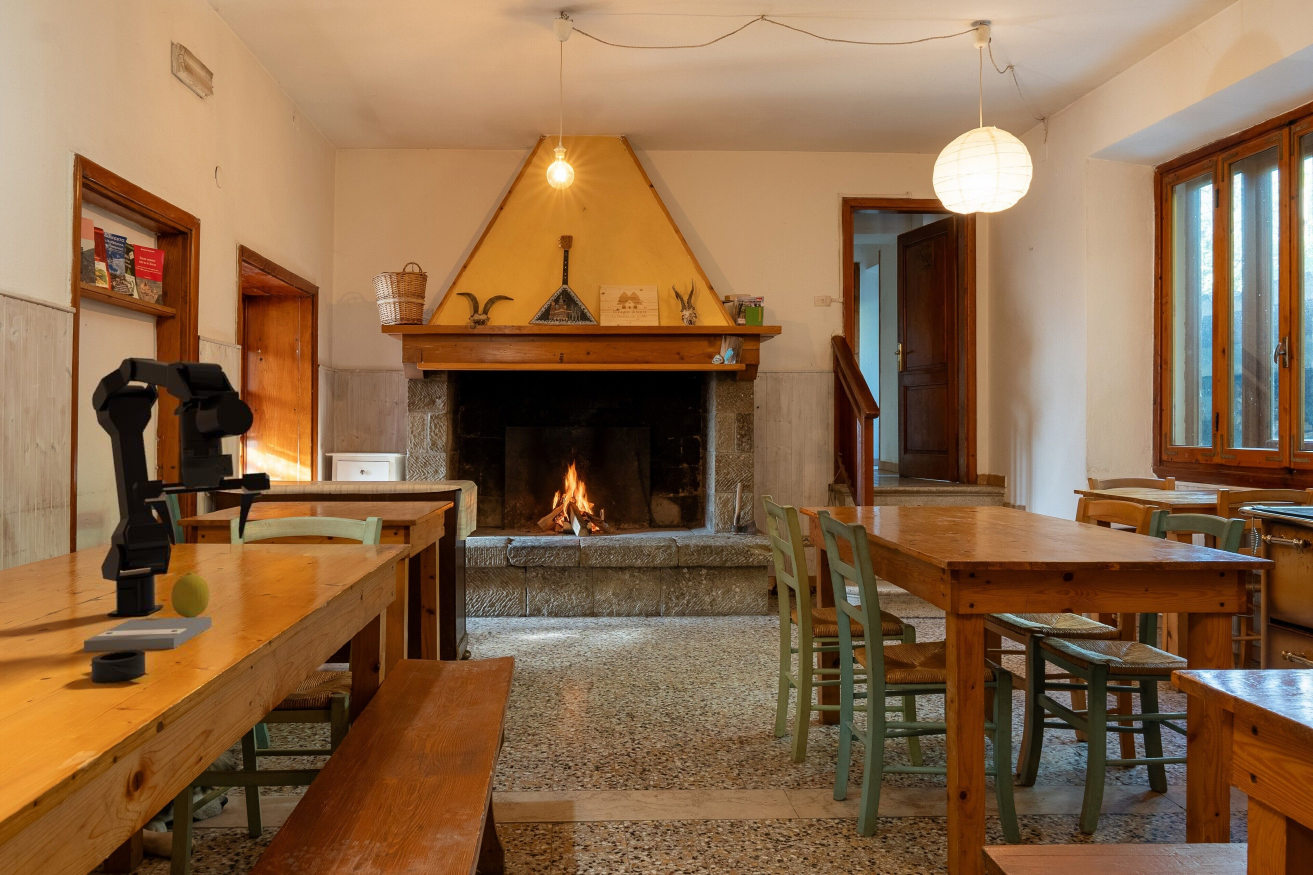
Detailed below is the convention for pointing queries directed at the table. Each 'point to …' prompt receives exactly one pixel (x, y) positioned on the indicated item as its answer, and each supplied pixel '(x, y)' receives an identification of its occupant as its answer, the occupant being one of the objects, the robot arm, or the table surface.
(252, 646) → the table surface
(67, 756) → the table surface
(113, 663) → the black piece
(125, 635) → the grey flat block
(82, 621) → the table surface
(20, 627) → the table surface
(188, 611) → the lemon
